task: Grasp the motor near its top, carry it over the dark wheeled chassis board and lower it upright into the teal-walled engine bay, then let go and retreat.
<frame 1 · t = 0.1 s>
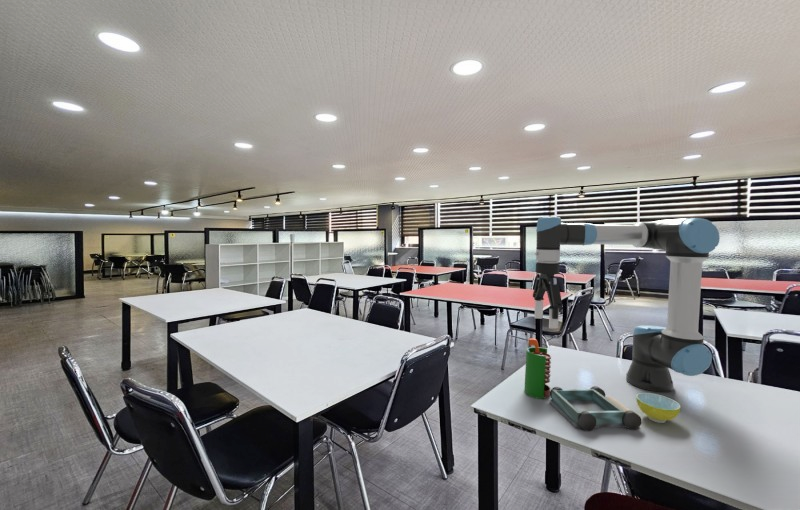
hand: (545, 323, 121), 28 cm above the table, fingers open, 13 cm apart
bowl: (656, 420, 111), on the table
chassis: (591, 413, 114), on the table
motor: (537, 393, 129), on the table
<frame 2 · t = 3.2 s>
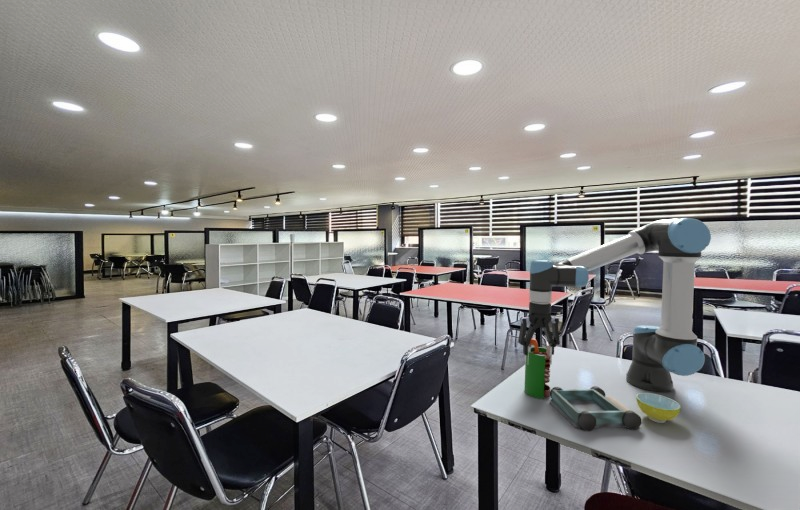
hand: (538, 363, 129), 11 cm above the table, fingers closed on motor, 7 cm apart
motor: (537, 392, 129), on the table, touching gripper
everything else where it was.
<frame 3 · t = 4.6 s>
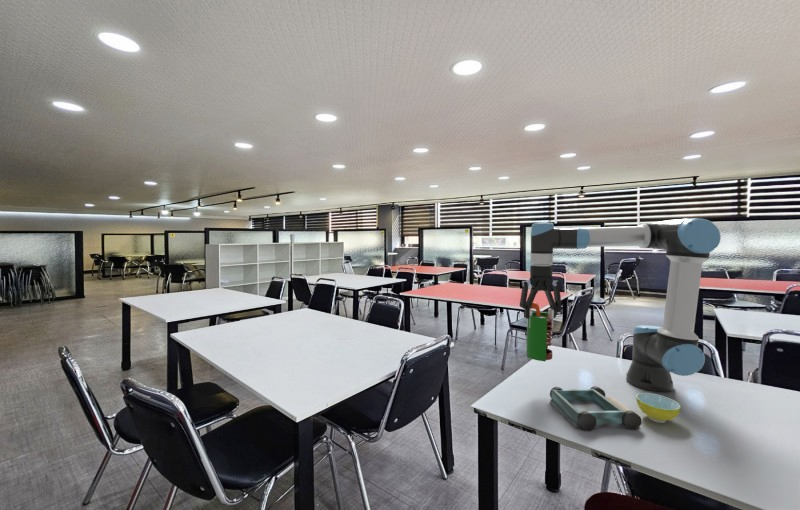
hand: (539, 326, 128), 25 cm above the table, fingers closed on motor, 7 cm apart
motor: (539, 356, 128), point 13 cm above the table, touching gripper
everything else where it was.
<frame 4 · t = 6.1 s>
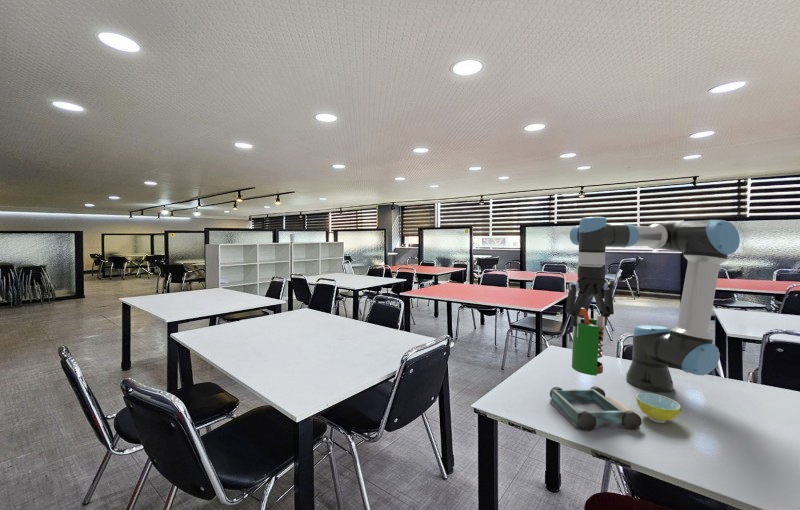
hand: (588, 335, 112), 26 cm above the table, fingers closed on motor, 7 cm apart
motor: (587, 369, 113), point 15 cm above the table, touching gripper
everything else where it was.
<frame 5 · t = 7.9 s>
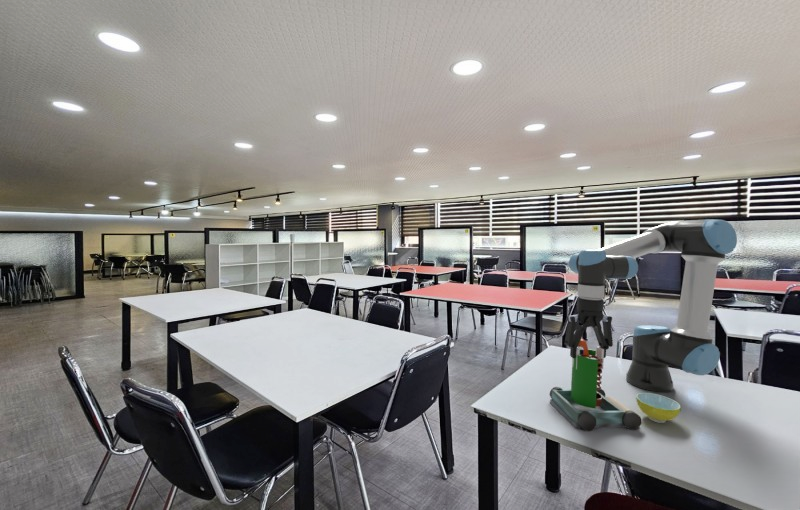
hand: (587, 367, 113), 16 cm above the table, fingers closed on motor, 7 cm apart
motor: (585, 401, 113), point 4 cm above the table, touching gripper
everything else where it was.
when the fingers open (13 cm above the table, at t = 9.3 s): motor stays where it is, resting on chassis.
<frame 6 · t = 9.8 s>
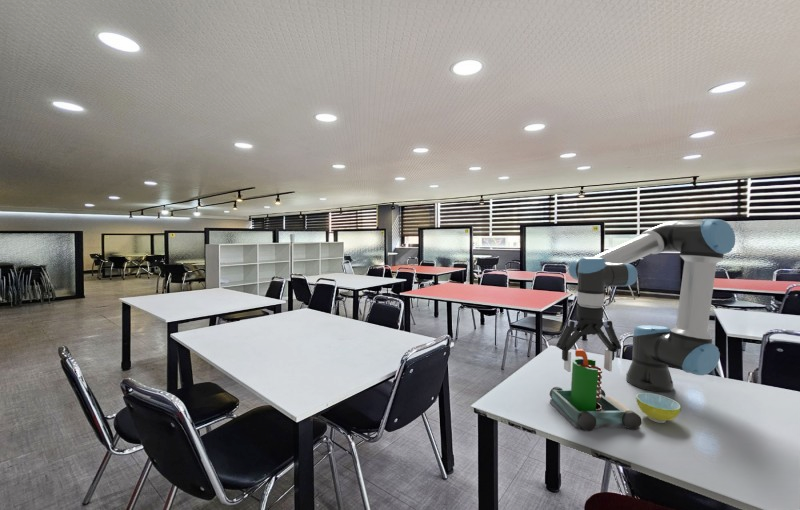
hand: (587, 370, 113), 15 cm above the table, fingers open, 13 cm apart
motor: (585, 411, 114), point 1 cm above the table, touching chassis
everything else where it was.
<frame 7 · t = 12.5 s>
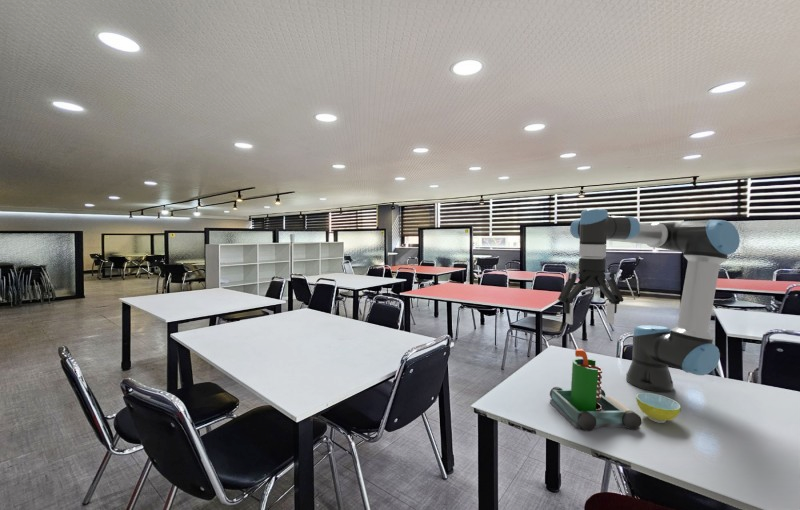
hand: (589, 323, 112), 30 cm above the table, fingers open, 13 cm apart
nothing on the table moved.
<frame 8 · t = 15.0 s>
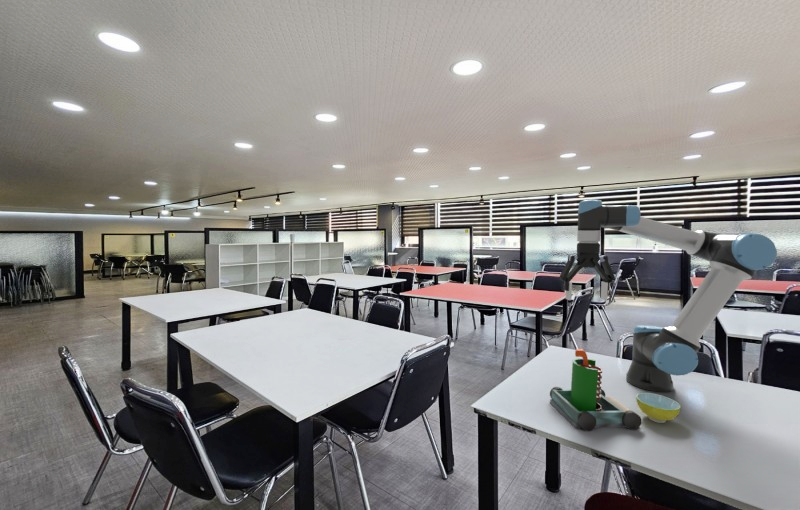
hand: (586, 299, 129), 35 cm above the table, fingers open, 13 cm apart
nothing on the table moved.
at the end: motor 0.2 cm from the target spot on the chassis, point 1.0 cm above the chassis's base; motor tilted 0°; the gripper is holding nothing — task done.
